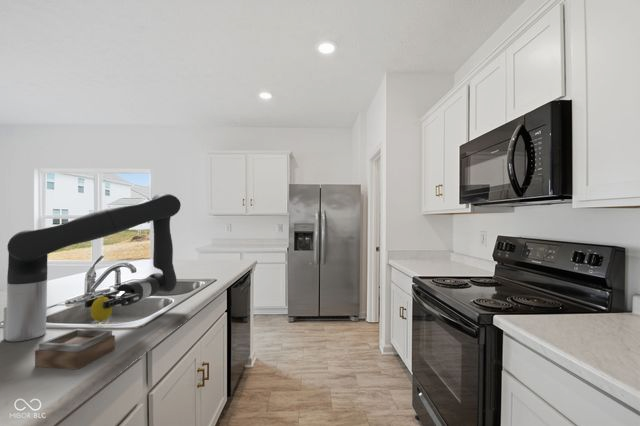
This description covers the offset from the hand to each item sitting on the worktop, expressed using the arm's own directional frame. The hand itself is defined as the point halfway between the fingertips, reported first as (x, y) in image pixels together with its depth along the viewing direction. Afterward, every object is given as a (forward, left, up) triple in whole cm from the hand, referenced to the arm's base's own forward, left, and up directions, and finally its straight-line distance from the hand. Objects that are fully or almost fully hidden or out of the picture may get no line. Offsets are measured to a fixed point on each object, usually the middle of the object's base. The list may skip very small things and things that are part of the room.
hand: (95, 304), depth 95 cm
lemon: (0, +3, -6) cm, 7 cm away
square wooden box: (+3, -9, -11) cm, 15 cm away
